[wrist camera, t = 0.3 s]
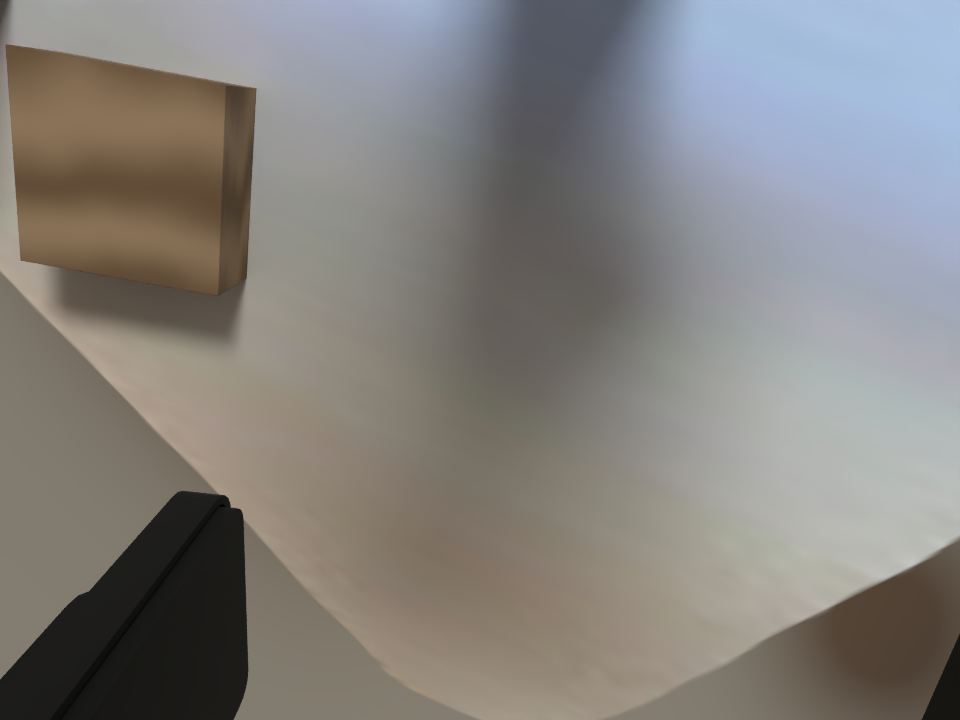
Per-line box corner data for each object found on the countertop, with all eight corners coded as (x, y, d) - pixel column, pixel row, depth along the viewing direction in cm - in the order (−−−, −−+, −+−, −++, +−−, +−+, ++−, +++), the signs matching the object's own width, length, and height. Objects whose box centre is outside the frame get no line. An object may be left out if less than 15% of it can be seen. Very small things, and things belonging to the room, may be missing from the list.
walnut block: (63, 52, 41) (5, 44, 36) (258, 88, 41) (225, 85, 36) (71, 245, 45) (20, 260, 40) (248, 276, 45) (218, 295, 40)
